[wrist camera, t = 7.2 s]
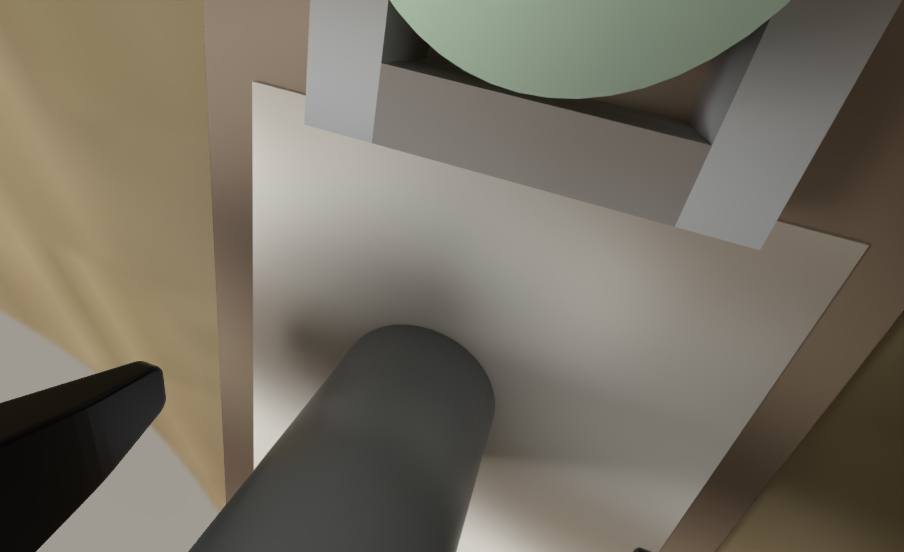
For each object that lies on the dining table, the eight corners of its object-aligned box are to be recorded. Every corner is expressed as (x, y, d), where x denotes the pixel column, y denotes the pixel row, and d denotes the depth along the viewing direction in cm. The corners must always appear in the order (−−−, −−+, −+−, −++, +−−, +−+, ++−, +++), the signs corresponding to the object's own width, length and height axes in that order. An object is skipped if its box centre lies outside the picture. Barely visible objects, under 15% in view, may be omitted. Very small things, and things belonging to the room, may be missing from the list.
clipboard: (601, 671, 14) (602, 780, 12) (239, 520, 16) (185, 593, 14) (1335, -319, 4) (1979, -636, 2) (215, -429, 6) (21, -670, 4)
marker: (476, 475, 11) (325, 1021, 5) (336, 423, 11) (39, 859, 5) (516, 355, 9) (363, 960, 3) (350, 300, 10) (-60, 730, 4)
